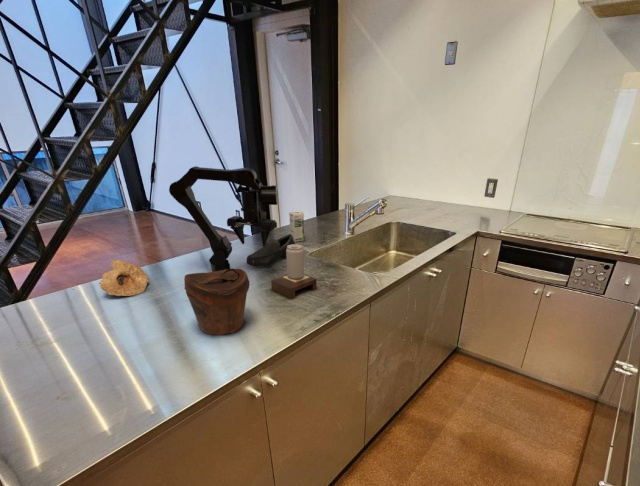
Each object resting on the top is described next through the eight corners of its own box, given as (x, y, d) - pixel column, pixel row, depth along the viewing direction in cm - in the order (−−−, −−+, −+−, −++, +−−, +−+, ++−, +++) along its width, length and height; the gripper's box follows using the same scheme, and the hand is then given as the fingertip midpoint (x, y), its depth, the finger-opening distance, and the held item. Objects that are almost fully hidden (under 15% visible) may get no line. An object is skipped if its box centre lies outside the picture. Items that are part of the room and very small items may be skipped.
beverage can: (285, 279, 140) (284, 248, 135) (288, 273, 146) (287, 243, 140) (302, 280, 140) (302, 249, 134) (305, 274, 146) (304, 244, 140)
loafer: (241, 268, 161) (239, 245, 156) (281, 250, 184) (280, 229, 179) (260, 273, 157) (259, 249, 152) (298, 253, 180) (298, 232, 175)
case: (263, 314, 125) (259, 263, 116) (233, 345, 108) (225, 288, 99) (215, 307, 129) (208, 257, 120) (179, 335, 112) (167, 279, 103)
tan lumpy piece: (143, 310, 139) (143, 296, 134) (98, 305, 134) (96, 290, 128) (151, 277, 150) (151, 262, 145) (109, 271, 145) (108, 256, 140)
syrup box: (294, 242, 196) (293, 214, 189) (290, 239, 200) (289, 211, 193) (304, 240, 198) (303, 213, 191) (299, 237, 203) (299, 210, 196)
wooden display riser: (290, 298, 136) (290, 288, 134) (271, 290, 142) (270, 279, 140) (316, 288, 144) (316, 278, 142) (297, 280, 151) (296, 270, 149)
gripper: (282, 202, 145) (284, 242, 152) (239, 198, 149) (243, 237, 157) (269, 208, 135) (271, 250, 143) (223, 203, 140) (228, 244, 148)
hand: (253, 245), depth 148 cm, fingers open, 9 cm apart
